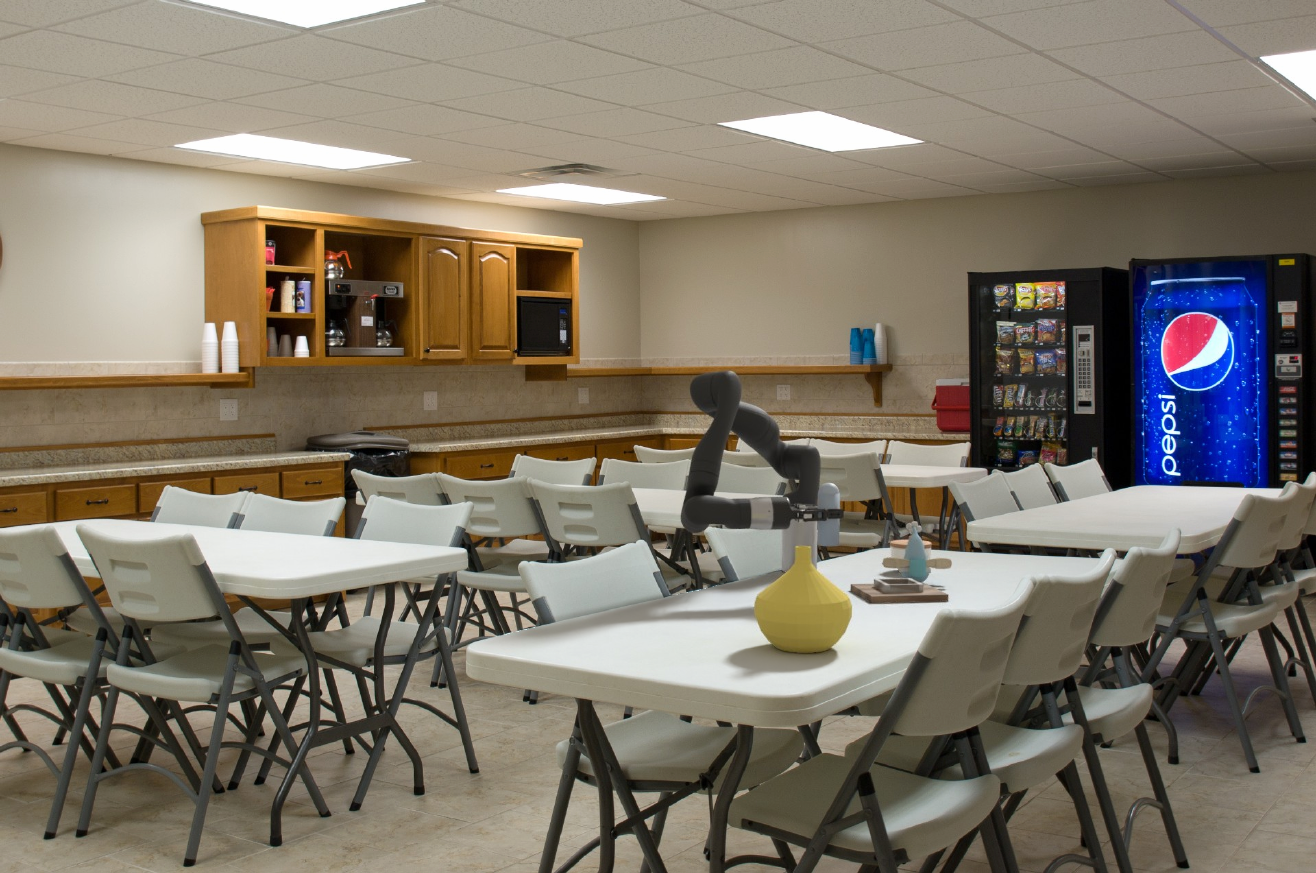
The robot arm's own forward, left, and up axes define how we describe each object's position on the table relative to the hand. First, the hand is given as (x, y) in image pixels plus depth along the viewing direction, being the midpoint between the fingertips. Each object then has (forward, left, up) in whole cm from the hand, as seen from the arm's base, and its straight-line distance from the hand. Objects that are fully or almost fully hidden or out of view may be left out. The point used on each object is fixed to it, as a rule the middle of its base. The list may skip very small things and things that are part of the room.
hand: (839, 512), depth 289 cm
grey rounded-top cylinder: (0, -3, -7) cm, 8 cm away
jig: (0, +14, -20) cm, 24 cm away
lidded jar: (-35, +29, -20) cm, 50 cm away
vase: (+52, -22, -20) cm, 60 cm away
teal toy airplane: (-17, +24, -20) cm, 36 cm away
